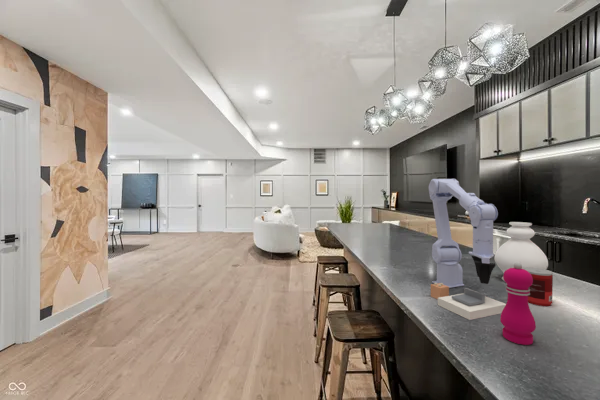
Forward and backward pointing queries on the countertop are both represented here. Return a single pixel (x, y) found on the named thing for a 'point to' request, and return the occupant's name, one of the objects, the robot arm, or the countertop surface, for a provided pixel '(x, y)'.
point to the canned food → (540, 287)
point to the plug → (439, 290)
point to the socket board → (472, 307)
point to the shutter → (470, 297)
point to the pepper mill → (518, 306)
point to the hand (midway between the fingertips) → (482, 280)
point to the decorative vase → (520, 249)
